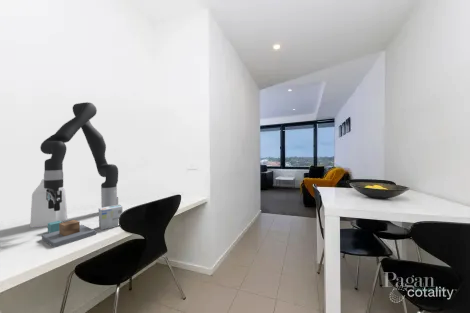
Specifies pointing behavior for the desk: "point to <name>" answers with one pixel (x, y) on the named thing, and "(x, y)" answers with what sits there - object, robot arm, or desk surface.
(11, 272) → the desk surface
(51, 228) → the teal block
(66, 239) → the slate gray board
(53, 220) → the milk
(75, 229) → the walnut block
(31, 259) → the desk surface
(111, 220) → the light bulb box
